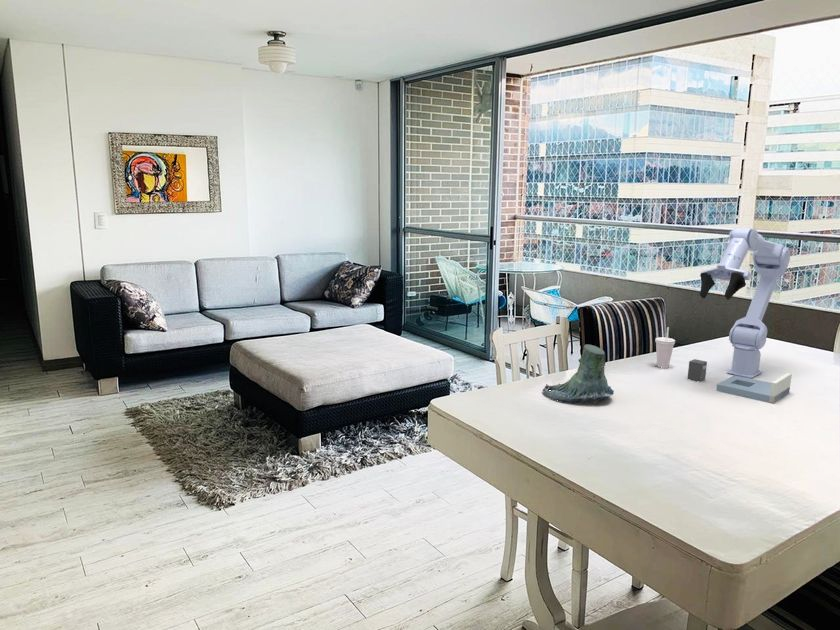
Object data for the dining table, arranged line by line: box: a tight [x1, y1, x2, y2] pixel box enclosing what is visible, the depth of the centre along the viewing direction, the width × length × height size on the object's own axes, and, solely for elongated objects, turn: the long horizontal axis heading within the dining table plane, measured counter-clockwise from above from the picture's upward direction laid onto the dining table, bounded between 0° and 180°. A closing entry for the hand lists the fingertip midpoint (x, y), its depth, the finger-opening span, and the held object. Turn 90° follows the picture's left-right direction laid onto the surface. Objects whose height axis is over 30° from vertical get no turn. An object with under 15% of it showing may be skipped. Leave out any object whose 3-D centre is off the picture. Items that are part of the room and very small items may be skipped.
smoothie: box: [654, 326, 676, 369], centre depth 217 cm, size 6×6×14 cm
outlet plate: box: [715, 372, 792, 404], centre depth 192 cm, size 14×16×6 cm
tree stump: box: [542, 344, 615, 404], centre depth 186 cm, size 18×20×18 cm
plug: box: [687, 358, 708, 383], centre depth 204 cm, size 4×4×6 cm
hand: (714, 296), depth 188 cm, fingers open, 7 cm apart
